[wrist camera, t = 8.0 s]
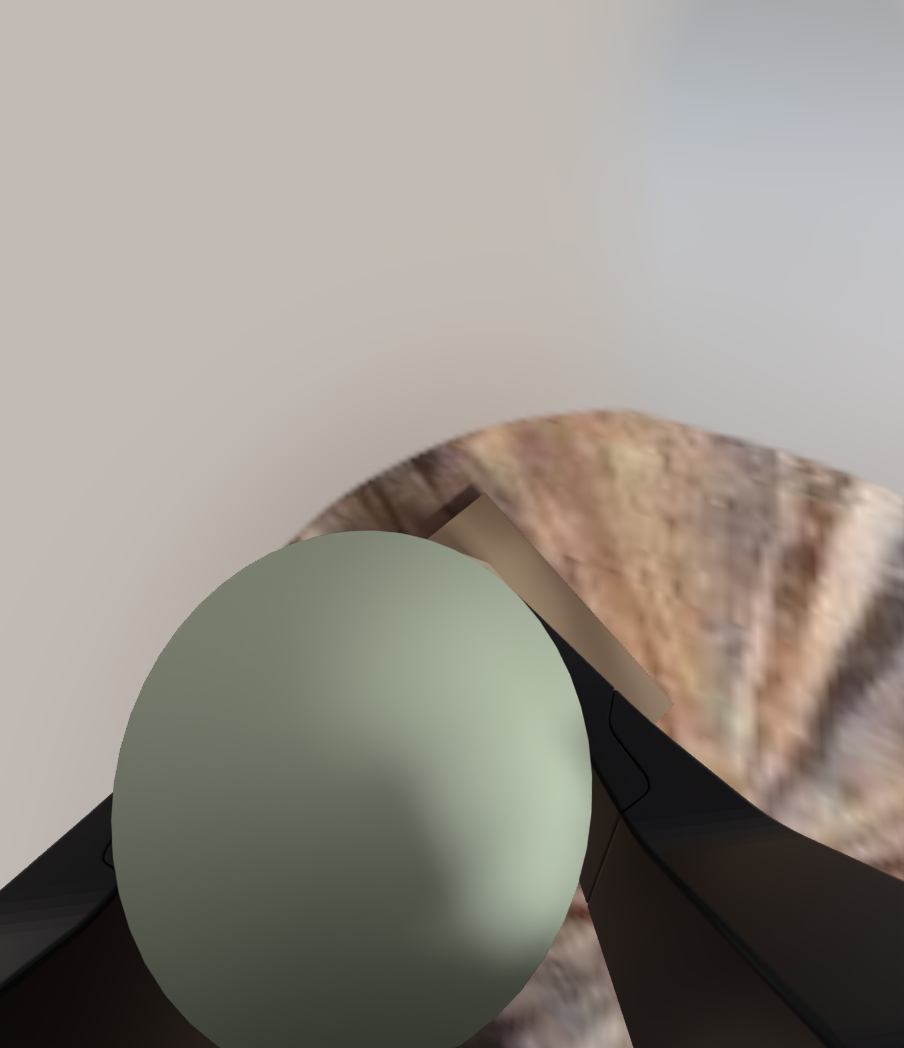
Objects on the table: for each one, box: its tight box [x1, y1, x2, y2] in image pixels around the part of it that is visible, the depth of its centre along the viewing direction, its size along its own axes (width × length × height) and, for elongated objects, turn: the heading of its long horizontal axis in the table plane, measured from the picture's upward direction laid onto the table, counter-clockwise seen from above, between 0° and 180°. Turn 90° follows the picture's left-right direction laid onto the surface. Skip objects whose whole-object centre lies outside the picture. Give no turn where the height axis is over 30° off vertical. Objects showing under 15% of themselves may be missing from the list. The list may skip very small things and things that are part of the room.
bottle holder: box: [428, 493, 674, 724], centre depth 19 cm, size 16×16×4 cm
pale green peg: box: [111, 531, 592, 1048], centre depth 10 cm, size 5×5×12 cm
